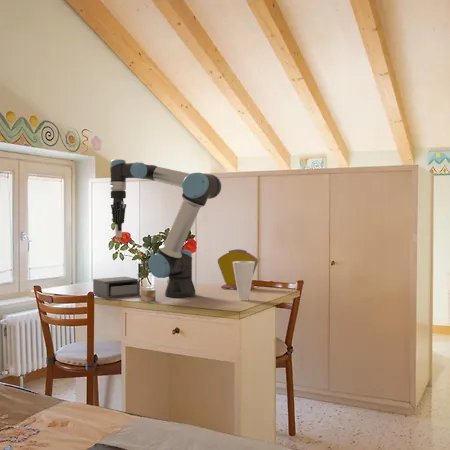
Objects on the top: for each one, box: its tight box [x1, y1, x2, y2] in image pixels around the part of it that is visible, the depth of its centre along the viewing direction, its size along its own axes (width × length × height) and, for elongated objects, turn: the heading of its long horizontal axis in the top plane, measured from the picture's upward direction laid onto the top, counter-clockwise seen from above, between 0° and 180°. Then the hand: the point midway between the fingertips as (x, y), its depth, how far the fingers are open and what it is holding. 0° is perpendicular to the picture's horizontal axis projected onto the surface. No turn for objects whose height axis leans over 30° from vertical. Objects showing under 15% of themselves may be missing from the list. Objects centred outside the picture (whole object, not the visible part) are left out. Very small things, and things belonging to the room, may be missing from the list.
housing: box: [92, 276, 141, 299], centre depth 279 cm, size 18×16×8 cm
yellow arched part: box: [217, 248, 258, 290], centre depth 301 cm, size 22×9×22 cm, turn 76°
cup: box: [233, 261, 255, 301], centre depth 260 cm, size 11×11×18 cm
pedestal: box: [140, 288, 157, 303], centre depth 259 cm, size 5×5×5 cm
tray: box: [109, 285, 137, 296], centre depth 277 cm, size 14×15×4 cm
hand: (118, 237), depth 277 cm, fingers closed
